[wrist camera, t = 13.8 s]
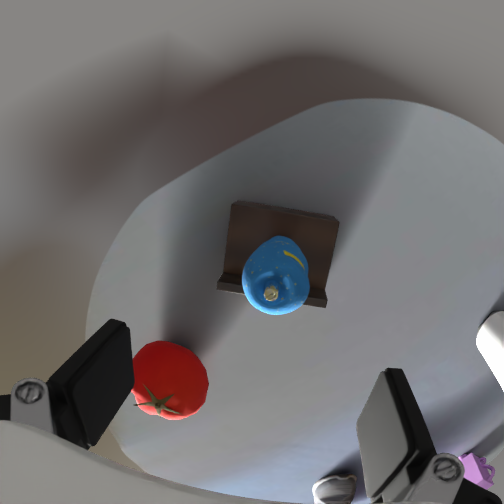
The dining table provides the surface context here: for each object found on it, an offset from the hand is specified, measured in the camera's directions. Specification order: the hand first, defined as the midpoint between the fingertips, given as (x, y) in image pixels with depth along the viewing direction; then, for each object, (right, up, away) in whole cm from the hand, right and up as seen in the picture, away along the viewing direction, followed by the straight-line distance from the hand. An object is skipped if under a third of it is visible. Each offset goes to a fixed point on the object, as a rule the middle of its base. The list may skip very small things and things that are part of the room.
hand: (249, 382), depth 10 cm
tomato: (-11, -12, +35) cm, 39 cm away
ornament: (+3, +6, +24) cm, 25 cm away
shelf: (+4, +6, +28) cm, 29 cm away
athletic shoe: (+18, -51, +42) cm, 69 cm away
